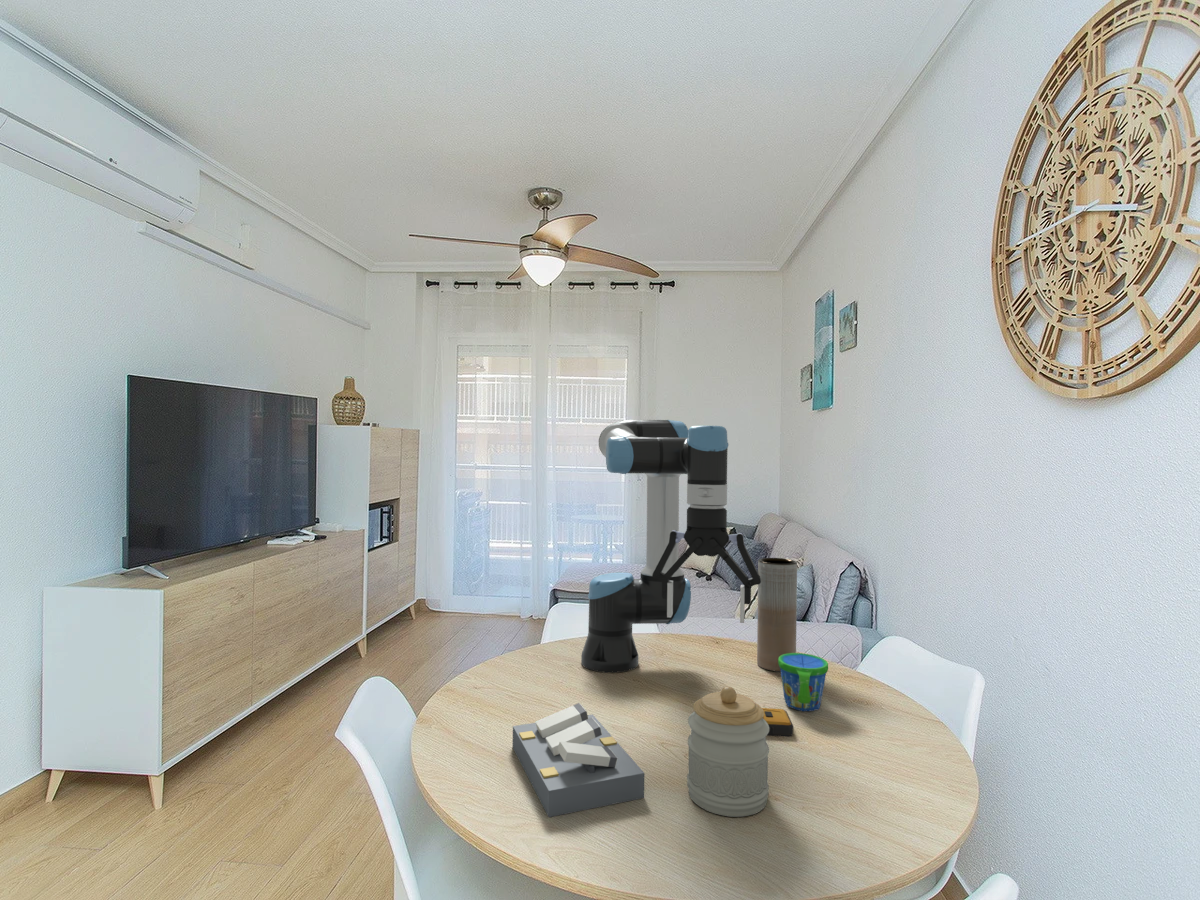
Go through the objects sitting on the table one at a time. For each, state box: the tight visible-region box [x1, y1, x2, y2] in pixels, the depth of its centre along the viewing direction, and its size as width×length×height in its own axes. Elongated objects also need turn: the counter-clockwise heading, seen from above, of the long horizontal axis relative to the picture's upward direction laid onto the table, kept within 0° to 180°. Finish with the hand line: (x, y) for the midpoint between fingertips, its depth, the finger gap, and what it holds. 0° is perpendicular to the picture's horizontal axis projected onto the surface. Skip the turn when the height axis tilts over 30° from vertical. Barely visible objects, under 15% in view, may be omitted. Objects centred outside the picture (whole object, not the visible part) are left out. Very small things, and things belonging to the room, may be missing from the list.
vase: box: [756, 557, 798, 673], centre depth 165 cm, size 10×10×28 cm
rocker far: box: [534, 702, 589, 738], centre depth 115 cm, size 4×9×2 cm, turn 111°
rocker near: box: [557, 741, 618, 768], centre depth 102 cm, size 4×9×2 cm, turn 111°
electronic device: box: [761, 707, 794, 738], centre depth 128 cm, size 8×16×3 cm, turn 84°
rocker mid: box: [546, 718, 602, 756], centre depth 109 cm, size 4×9×2 cm, turn 111°
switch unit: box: [512, 714, 646, 818], centre depth 109 cm, size 24×16×5 cm, turn 21°
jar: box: [686, 686, 770, 818], centre depth 102 cm, size 13×13×18 cm
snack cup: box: [778, 652, 829, 712], centre depth 139 cm, size 16×10×10 cm
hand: (705, 618), depth 119 cm, fingers open, 13 cm apart
